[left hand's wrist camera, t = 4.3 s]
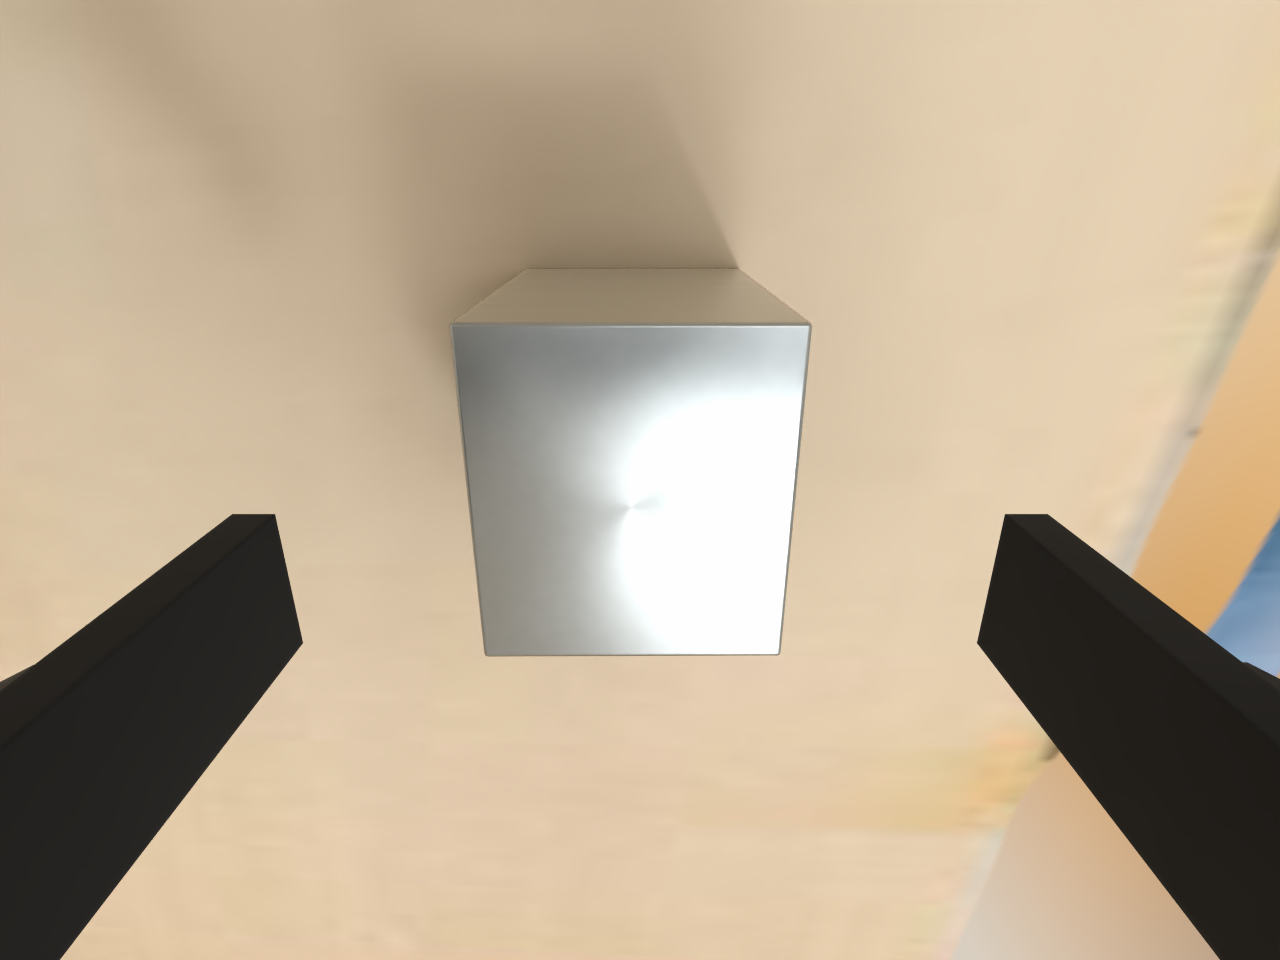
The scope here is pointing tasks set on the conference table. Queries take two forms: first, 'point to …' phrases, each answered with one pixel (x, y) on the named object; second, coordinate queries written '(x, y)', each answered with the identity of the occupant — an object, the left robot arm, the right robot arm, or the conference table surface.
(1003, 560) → the left robot arm
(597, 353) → the block
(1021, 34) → the conference table surface
